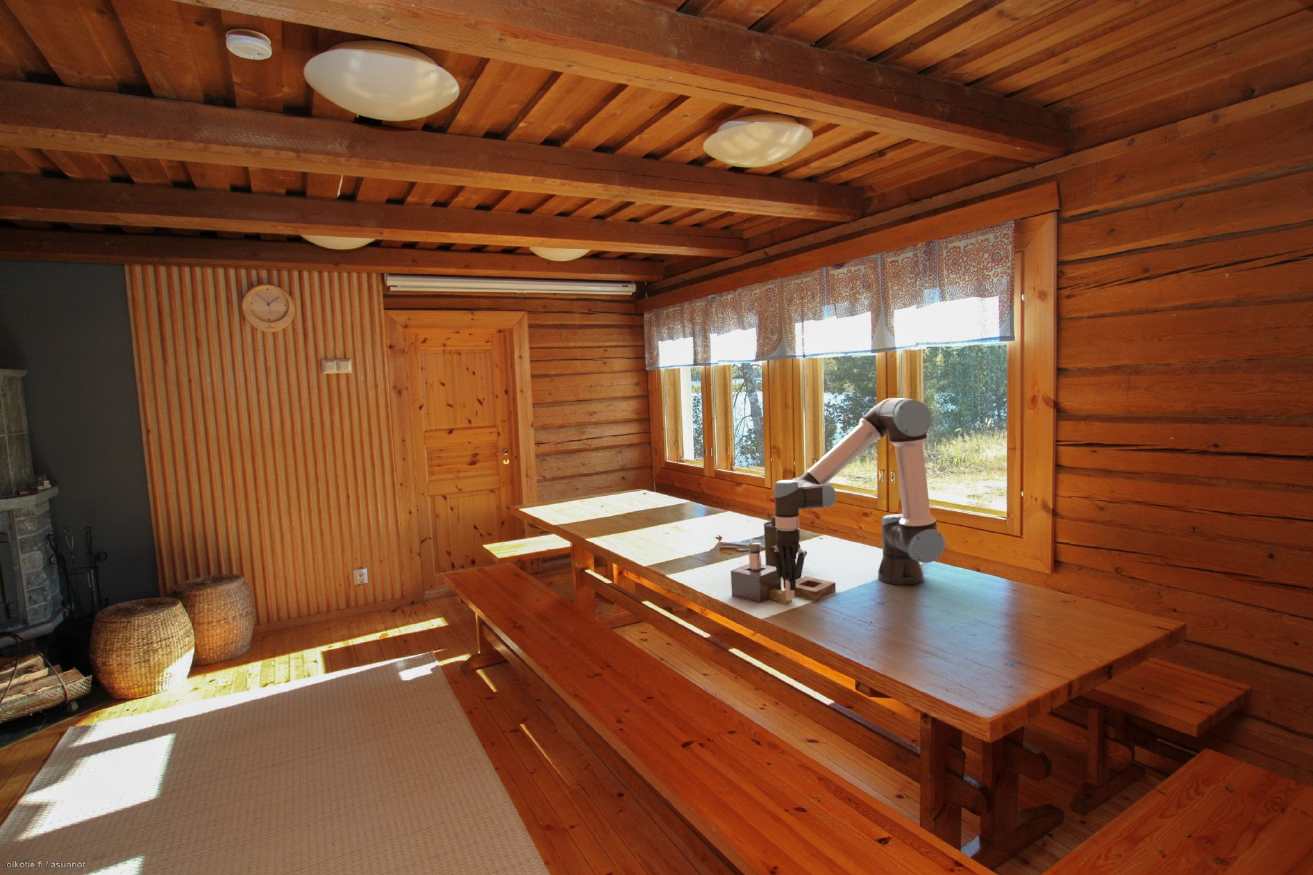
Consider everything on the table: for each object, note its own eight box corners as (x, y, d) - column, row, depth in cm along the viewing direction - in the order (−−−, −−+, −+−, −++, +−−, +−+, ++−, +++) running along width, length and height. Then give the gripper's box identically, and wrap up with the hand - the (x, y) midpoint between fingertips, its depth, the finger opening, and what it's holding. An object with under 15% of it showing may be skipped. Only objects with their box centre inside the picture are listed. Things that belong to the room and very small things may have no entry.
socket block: (781, 593, 232) (780, 568, 231) (760, 603, 224) (759, 576, 223) (753, 587, 241) (752, 562, 240) (731, 596, 232) (730, 570, 232)
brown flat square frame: (835, 591, 232) (835, 582, 232) (816, 600, 224) (815, 591, 223) (805, 584, 240) (805, 576, 240) (785, 593, 232) (785, 585, 232)
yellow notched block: (792, 600, 224) (791, 587, 224) (784, 604, 222) (784, 590, 221) (762, 593, 233) (762, 581, 233) (755, 596, 230) (754, 584, 230)
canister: (761, 570, 260) (759, 519, 258) (770, 563, 269) (768, 513, 267) (789, 573, 254) (787, 520, 253) (797, 565, 264) (795, 515, 262)
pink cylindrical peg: (764, 583, 232) (762, 542, 231) (757, 586, 229) (755, 545, 228) (755, 581, 235) (753, 541, 233) (747, 583, 232) (746, 543, 231)
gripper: (811, 528, 218) (813, 599, 220) (777, 523, 227) (780, 592, 230) (798, 533, 213) (800, 606, 215) (764, 527, 222) (766, 598, 224)
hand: (790, 598), depth 222 cm, fingers closed
